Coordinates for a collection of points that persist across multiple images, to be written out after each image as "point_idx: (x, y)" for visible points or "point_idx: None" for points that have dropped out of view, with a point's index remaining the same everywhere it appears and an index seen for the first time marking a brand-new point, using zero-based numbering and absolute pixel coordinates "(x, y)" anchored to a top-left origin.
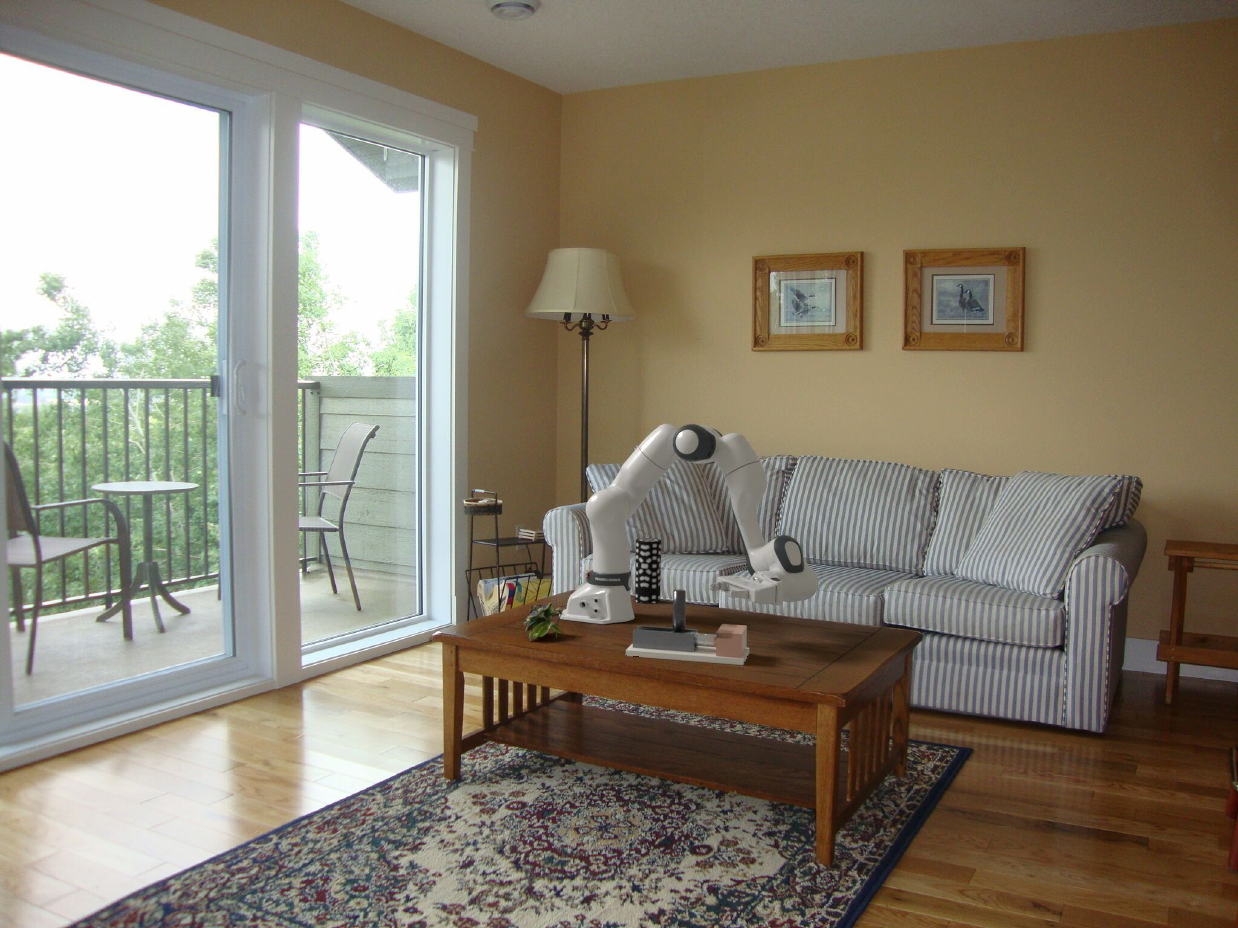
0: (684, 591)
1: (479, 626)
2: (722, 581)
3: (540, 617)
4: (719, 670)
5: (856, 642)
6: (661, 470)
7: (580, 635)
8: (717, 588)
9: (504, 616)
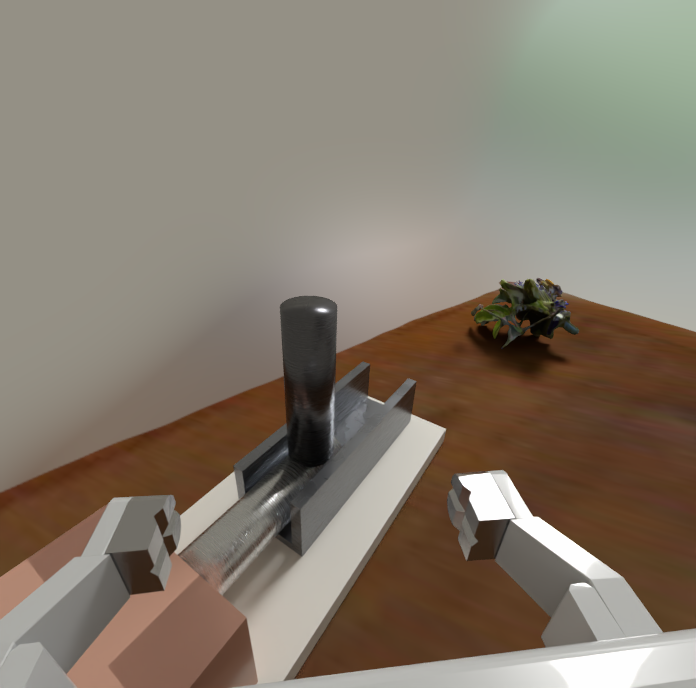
0: (281, 311)
1: (580, 305)
2: (643, 634)
3: (508, 297)
4: (54, 539)
5: None
6: None
7: (541, 379)
8: (471, 547)
9: (683, 332)
